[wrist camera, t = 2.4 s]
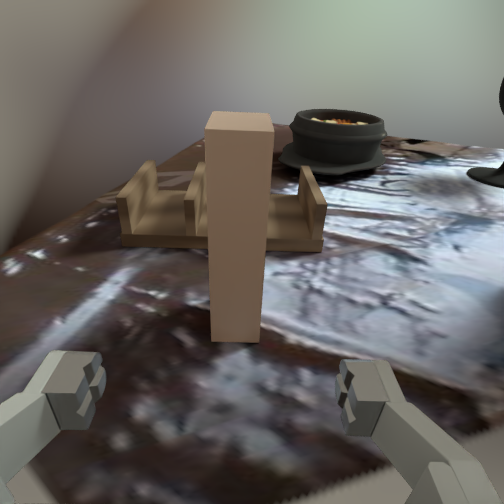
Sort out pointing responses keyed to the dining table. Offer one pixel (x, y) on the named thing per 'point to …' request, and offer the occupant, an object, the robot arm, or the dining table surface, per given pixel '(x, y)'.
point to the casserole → (335, 141)
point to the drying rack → (195, 214)
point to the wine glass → (491, 175)
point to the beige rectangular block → (237, 220)
